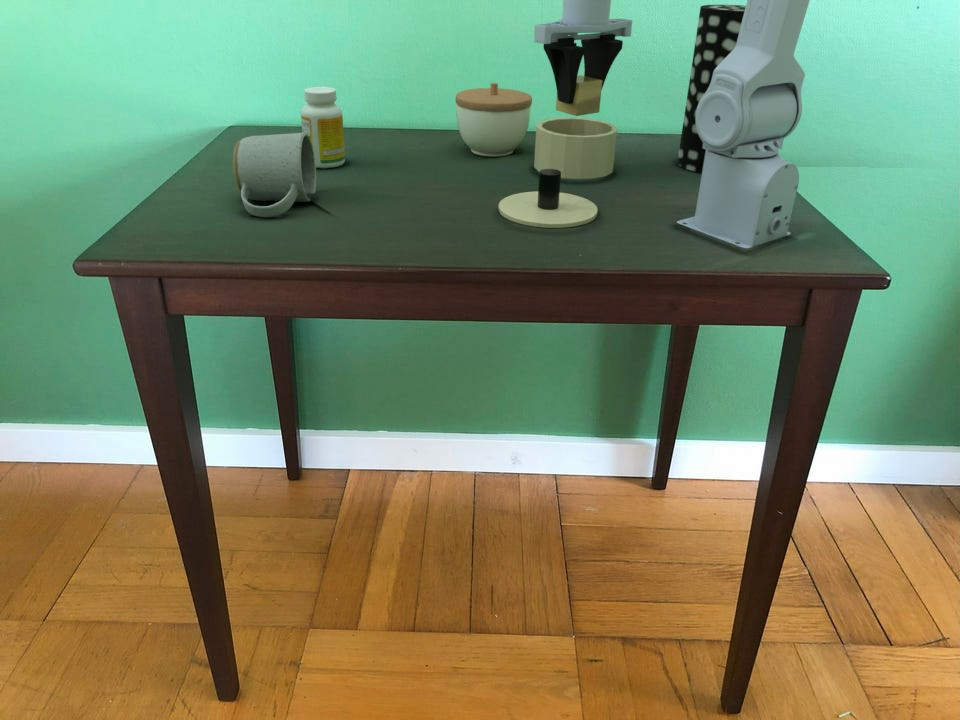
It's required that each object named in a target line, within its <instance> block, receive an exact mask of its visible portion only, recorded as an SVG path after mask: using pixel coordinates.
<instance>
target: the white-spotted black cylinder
mask: <svg viewBox="0 0 960 720" xmlns="http://www.w3.org/2000/svg"><path fill="white" fill-rule="evenodd" d="M745 8H746V5H742V4H703V5H700V8H699V14H698V22H697V28H696V35H695V41H694V48H693V55H692V62H691V68H690V76H689V82H688V88H687V95H686V102H685V110H684V115H683V123H682V128H681V136H680V143H679V148H678V149H679V150H678V156H677V163H676V164H677V165H678V166H679V167H681V168H683V169H685V170H689V171H691V172H695V173H696V172H697V173H701V174H702V170H703V164H704V158H705V152H706V149H703V148H702V147H703V142H702V140H701V139H700V137H699V135H698V132H697V129H696V120H695V117H696V110H697V106H698V104H699V101H700V99H701V98H702V96H703V95H704V94H705V92H706V91H707V89H708V88H709V85H710V83H711V80H712V76H713V72H714V70H715V68H716V67H717V66H718V65H719V64H720V63H721V62H722V61H723V60H724V59H725V58H726V57H727V56H728V55H729V54H730V53H731V52H732V50H733V49H734V48H735V47H736V43H737V39H738V35H739V31H740V27H741V23H742V19H743V16H744V12H745Z"/></svg>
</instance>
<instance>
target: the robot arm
mask: <svg viewBox="0 0 960 720" xmlns="http://www.w3.org/2000/svg"><path fill="white" fill-rule="evenodd" d="M810 1H811V0H747V1H746V4H745V6H746V8H745V12H744V16H743V19H742V23H741V27H740V31H739V35H738V39H737V43H736V47H735V48H734V49H733V50H732V52H731V53H730V54H729V55H728V56H727V57H726V58H725V59H724V60H723V61H722V62H721V63H720V64H719V65H718V66H717V67H716V68H715V70H714V72H713V76H712V80H711V83H710V85H709V88H708V89H707V91H706V92H705V94H704V95H703V96H702V98H701V99H700V101H699V104H698V106H697V110H696V117H695V120H696V129H697V132H698V135H699V137H700V139H701V140H702V142H703V147H702V148H703V149H706V152H705V158H704V164H703V170H702V173H701V176H700V183H699V189H698V195H697V200H696V208H695V213H694V216H691V217H686V218H683V219H680V220H677V221H676V223H677V224H679V225H681V226H684V227H687V228H689V229H692V230H694V231H697V232H700V233H703V234H705V235H708V236H711V237H713V238H716V239H718V240H721V241H724V242H727V243H729V244H732V245H734V246H737V247H740V248H743V249H751V248H755V247H756V246H757V247H758V246H760V245H762V244H765V243H769V242H772V241H774V240H778V239H781V238H783V237H787V236H790V235H791V234H792V233H791V232H790V231H789V227H790V223H791V218H792V215H793V214H792V213H793V209H794V207H795V206H794V205H795V202H796V197H797V192H798V188H799V183H800V173H799V169H798V167H797V166H796V165H795V164H794V163H792V162H790V161H787V160H785V159H784V158H783V157H781V155H780V154H779V151H780V150H782V148H783V145H784V144H783V143H784V142H785V141H784V140H785V139H786V138H787V137H789V136H790V135H791V134H792V133H793V132H794V131H795V130H796V129H797V127H798V125H799V123H800V122H801V117H802V113H803V101H802V88H803V83H804V80H805V77H806V73H805V71H804V69H803V67H802V66H801V65H800V63H799V62H798V61H797V59H796V57H795V52H796V48H797V44H798V41H799V38H800V34H801V31H802V27H803V26H804V25H803V24H804V21H805V18H806V14H807V11H808V7H809V4H810ZM611 3H612V0H562V12H561V13H562V14H561V15H562V16H561V18H559V19H558V21H557V20H556V21H554V22H547V23H540V24H534V35H533V42H534V43H538V44H542V45H543V50H544V52H545V55H546V56H547V59H548V61H549V65H550V67H551V70H552V74H553V77H554V82H555V88H556V95H557V94H558V100H559V101H560V102H563V103H567V104H571V103H573V100H574V96H575V91H576V82H577V76H578V74H579V70H580V66H581V63H582V60H583V64H584V65H583V66H584V71H583V73H584V75H583V76H587V77H591V78H595V79H600V80H602V89H601V92H602V90H603V88H604V85H605V81H606V79H607V76H608V74H609V73H610V70H611V67H612V65H613V64H614V62H615V60H616V58H617V57H618V55H619V54H620V52H621V51H622V50H623V42H624V41H623V40H621V39H616V37H622V38H623V37H624V38H626V37H627V38H629V37H631V36H632V29H633V20H632V19H628V18H627V19H626V18H610V17H611V16H610V14H611ZM575 41H580V43H581V46H580V45H577V42H575Z"/></svg>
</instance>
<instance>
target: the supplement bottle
mask: <svg viewBox="0 0 960 720" xmlns="http://www.w3.org/2000/svg"><path fill="white" fill-rule="evenodd" d="M304 100H305V102H306V105H304V106H302V108H301V110H300V119H301V131H302V132H301V133H306V134H307V135H308V136H309V137H310V140H311V143H312V146H313V151H314V157H315V164H316V169H330V168H332V169H333V168H338V167H341V166H342V165H344V164H345V163H346V150H345V134H344V133H345V132H344V116H343V110H342V108H341V107H340V106H339V105H337V104H335V102H336V101H337V90H336V88H334V87H330V86H313V87H307V88H305V89H304Z"/></svg>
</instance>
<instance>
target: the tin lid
mask: <svg viewBox="0 0 960 720" xmlns="http://www.w3.org/2000/svg"><path fill="white" fill-rule="evenodd" d="M538 174H539V175H538V187H537V189H538V191H537V190H536V191H526V192H524V191H523V192H519V193H514V194H510V195H507V196H506V197H504V198H502V199H501V200H500V201H499V203H498V209H497V210H498V212H499V214H500V215H501V216H502V217H503V218H505V219H506V220H508V221H511V222H513V223H516V224H520V225H523V226H529V227H534V228H544V229H545V228H546V229H564V228H574V227H579V226H583V225H586V224H588V223H591V222H593V221H594V220H595V219H596V218H597V216H598V211H599V209H598V207H597V205H596V204H595V203H594V202H592V201H591V200H590V199H587V198H585V197H581V196H580V195H575V194H571V193H566V192H561V181H562V178H561V172H560V171H559V170H556V169H543V170H540V172H539V171H538Z"/></svg>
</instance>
